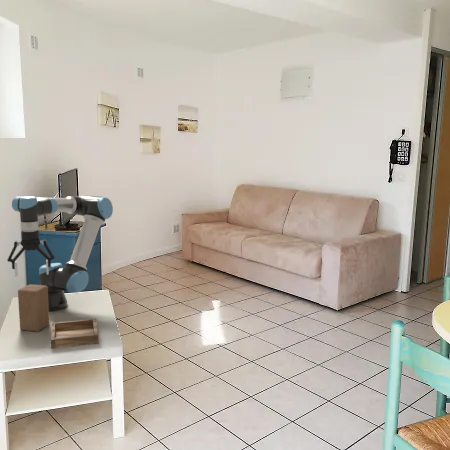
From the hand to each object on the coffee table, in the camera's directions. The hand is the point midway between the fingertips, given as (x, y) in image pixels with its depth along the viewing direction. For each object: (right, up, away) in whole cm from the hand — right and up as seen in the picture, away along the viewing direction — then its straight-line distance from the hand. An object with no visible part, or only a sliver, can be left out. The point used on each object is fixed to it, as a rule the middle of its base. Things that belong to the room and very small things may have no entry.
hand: (32, 274), depth 223 cm
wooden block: (-1, -26, +5) cm, 26 cm away
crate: (+21, -28, -5) cm, 36 cm away
